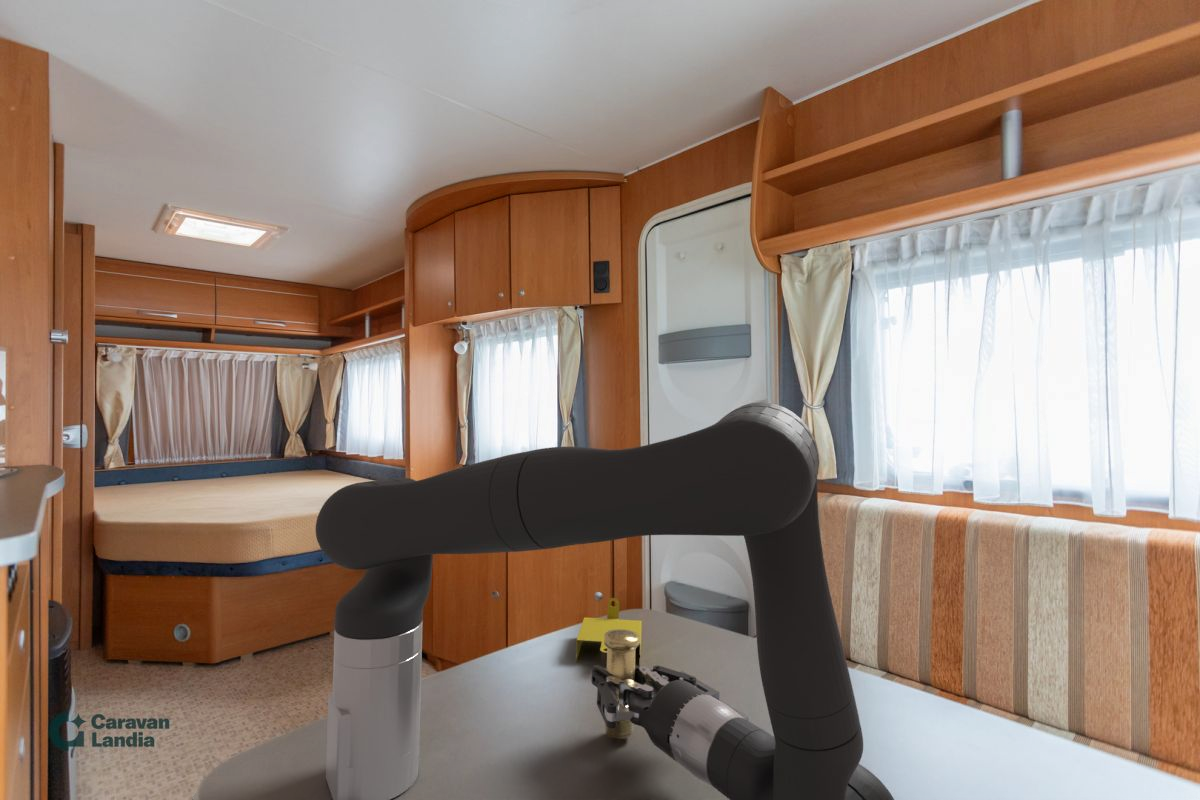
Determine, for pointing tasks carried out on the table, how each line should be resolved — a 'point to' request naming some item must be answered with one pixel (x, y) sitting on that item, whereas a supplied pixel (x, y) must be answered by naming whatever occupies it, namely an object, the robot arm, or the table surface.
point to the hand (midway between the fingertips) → (607, 669)
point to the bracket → (605, 627)
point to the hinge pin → (621, 669)
